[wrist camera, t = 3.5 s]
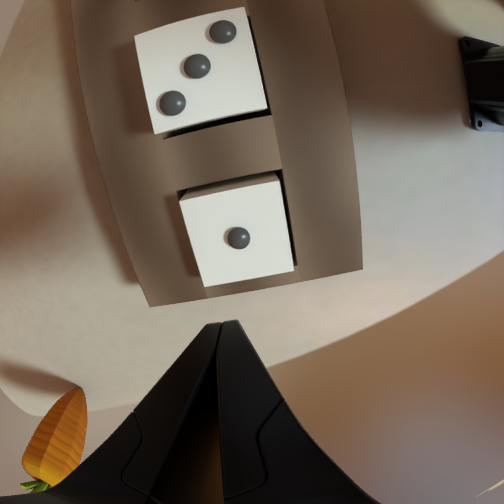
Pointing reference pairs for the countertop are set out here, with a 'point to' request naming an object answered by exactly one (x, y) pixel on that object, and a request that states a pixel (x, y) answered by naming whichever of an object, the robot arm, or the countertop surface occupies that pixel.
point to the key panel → (222, 142)
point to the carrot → (57, 442)
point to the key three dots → (200, 70)
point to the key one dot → (238, 228)
